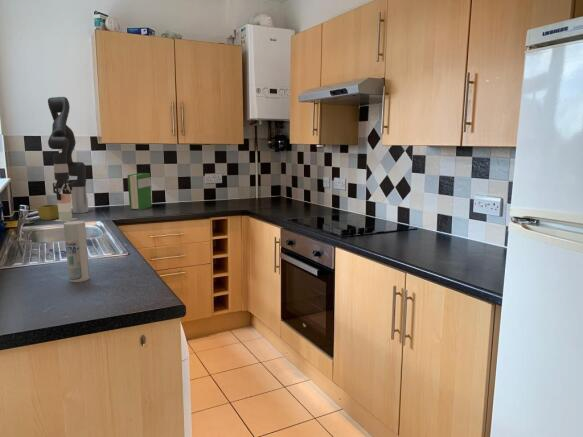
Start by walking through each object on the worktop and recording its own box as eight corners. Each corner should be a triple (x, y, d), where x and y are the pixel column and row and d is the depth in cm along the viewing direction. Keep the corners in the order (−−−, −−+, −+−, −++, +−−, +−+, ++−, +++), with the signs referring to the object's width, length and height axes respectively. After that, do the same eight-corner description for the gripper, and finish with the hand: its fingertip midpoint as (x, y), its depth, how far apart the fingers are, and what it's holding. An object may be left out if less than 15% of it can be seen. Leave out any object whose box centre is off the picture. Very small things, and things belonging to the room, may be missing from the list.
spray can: (64, 281, 150) (59, 223, 147) (79, 275, 156) (74, 220, 153) (79, 283, 148) (73, 224, 144) (94, 277, 154) (89, 221, 150)
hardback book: (139, 210, 303) (137, 175, 299) (129, 209, 304) (127, 175, 300) (151, 206, 320) (149, 173, 316) (142, 206, 321) (140, 173, 317)
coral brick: (63, 202, 263) (62, 193, 262) (70, 202, 262) (70, 193, 261) (57, 203, 258) (56, 194, 257) (65, 203, 257) (64, 194, 256)
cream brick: (63, 210, 263) (62, 202, 263) (71, 210, 263) (70, 202, 262) (58, 211, 259) (57, 203, 258) (66, 211, 258) (65, 203, 257)
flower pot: (50, 222, 258) (49, 207, 257) (37, 221, 260) (36, 206, 259) (61, 219, 267) (59, 205, 265) (48, 219, 269) (47, 204, 267)
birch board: (63, 219, 267) (63, 217, 267) (78, 219, 266) (78, 218, 266) (52, 222, 257) (52, 220, 257) (68, 222, 256) (68, 221, 256)
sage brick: (64, 218, 264) (63, 210, 263) (72, 218, 264) (71, 210, 263) (59, 220, 259) (58, 211, 259) (67, 220, 259) (66, 211, 258)
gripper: (63, 170, 264) (65, 197, 267) (47, 172, 250) (50, 200, 253) (74, 170, 263) (77, 197, 266) (59, 172, 249) (62, 201, 252)
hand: (63, 199), depth 259 cm, fingers open, 8 cm apart
